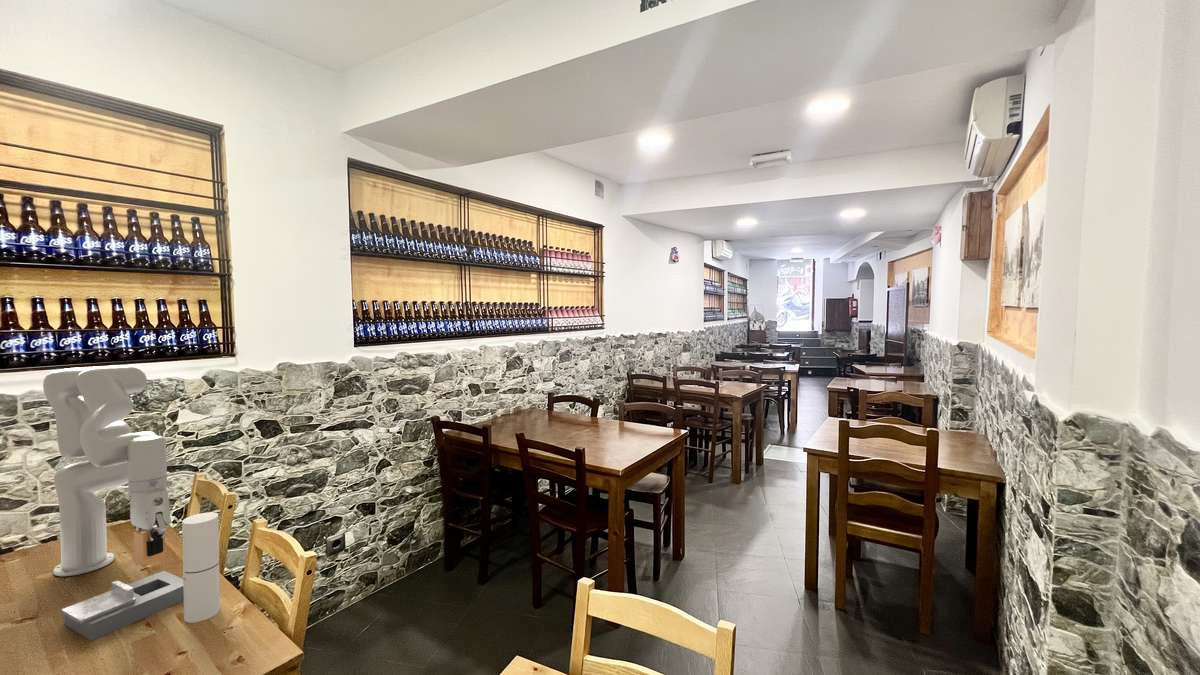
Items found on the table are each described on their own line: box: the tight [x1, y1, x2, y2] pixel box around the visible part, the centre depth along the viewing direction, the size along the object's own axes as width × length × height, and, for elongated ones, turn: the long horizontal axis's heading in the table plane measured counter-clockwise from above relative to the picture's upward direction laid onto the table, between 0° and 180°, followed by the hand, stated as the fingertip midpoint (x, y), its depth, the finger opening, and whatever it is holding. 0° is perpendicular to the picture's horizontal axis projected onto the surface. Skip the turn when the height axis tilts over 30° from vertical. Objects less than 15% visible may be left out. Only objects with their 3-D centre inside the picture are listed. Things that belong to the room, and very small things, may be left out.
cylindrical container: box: [181, 511, 221, 624], centre depth 125 cm, size 7×7×25 cm
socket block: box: [63, 570, 184, 642], centre depth 126 cm, size 14×20×4 cm
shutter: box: [61, 580, 136, 624], centre depth 121 cm, size 10×10×3 cm
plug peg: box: [133, 525, 166, 566], centre depth 129 cm, size 5×5×8 cm
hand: (149, 551), depth 129 cm, fingers closed on plug peg, 4 cm apart
